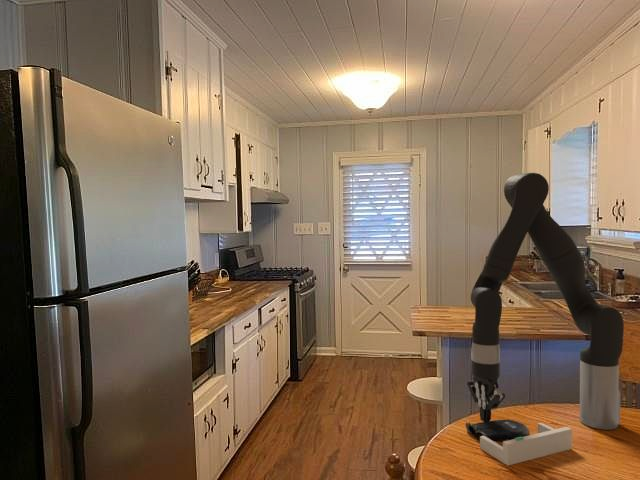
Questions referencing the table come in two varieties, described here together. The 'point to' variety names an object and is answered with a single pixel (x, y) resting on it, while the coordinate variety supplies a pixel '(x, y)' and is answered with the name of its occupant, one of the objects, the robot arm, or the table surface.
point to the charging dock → (529, 445)
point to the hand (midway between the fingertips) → (485, 420)
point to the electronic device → (498, 430)
